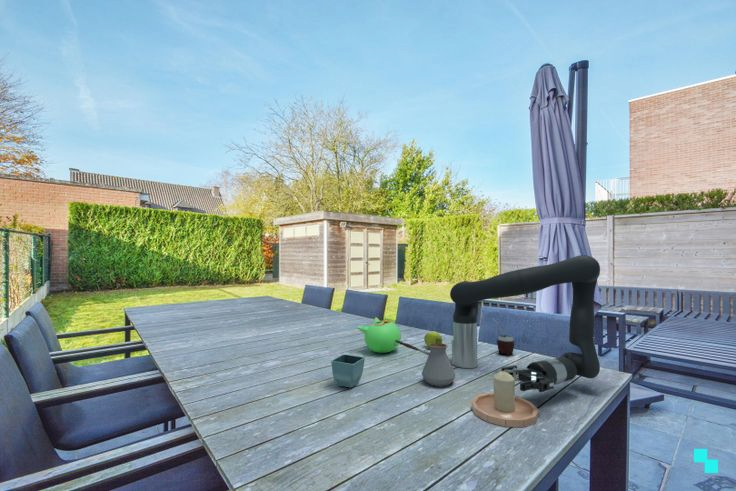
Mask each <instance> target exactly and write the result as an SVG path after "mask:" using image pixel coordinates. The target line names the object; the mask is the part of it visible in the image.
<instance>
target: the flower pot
mask: <svg viewBox="0 0 736 491" xmlns="http://www.w3.org/2000/svg"><path fill="white" fill-rule="evenodd" d="M330 363H331V370H332V377H333V378H334V379H333V380H334V381H335V383H336V385H337V386H338V385H339V386H338V387H341V386H345V387H344V388H346V387H352V388H354V387H355V386H356V385H357V384H358V383H359V381H360V380H361V378H362V375H363V371H364V368H365V366H364V365H365V356H358V355H352V354H345V353H344V354H341V355H339V356H338V357H336V358H334V359H332V360H331V361H330ZM354 385H355V386H354ZM353 386H354V387H353Z"/></svg>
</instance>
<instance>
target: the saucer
mask: <svg viewBox="0 0 736 491" xmlns="http://www.w3.org/2000/svg"><path fill="white" fill-rule="evenodd" d="M470 403H471V410H472V411H473V413H474V415H475V416H476V417H478V418H480V419H481V420H483V421H485V422H487V423H489V422H490V424H493V425H497V426H501V427H504V428H526V427H529V426H532V425H535V424H536V423H537V422H538V418H539V409H538V408H537V407H536V405H535V404H534V403H533V402H531V401H529V400H527V399H524V398H522V397H520V396H519V395H518V396H517V395H515V410H514V411H513V412H502V411H499V410H497V409H495V407H494V392H486V393H481V394H477V395H475V396H474V398H472V399H471V402H470Z"/></svg>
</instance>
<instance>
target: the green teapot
mask: <svg viewBox="0 0 736 491" xmlns="http://www.w3.org/2000/svg"><path fill="white" fill-rule="evenodd" d="M356 329H357V330H359V331H360V332H362V333H364V342H365V345H366V346H367V348H368V349H369V350H371V351H372V352H375V353H379V354H385V353H390V352H391V351H392V352H393V351H394V350H396V348H397V347H399V345H400V343H397V342H396V344H395V343H394V341H395V340H398V341H400V342H401V341H402V340H401V339H402V333H401V330H400V328H399V326H397V324H395V323H394V322H391V321H389V320H387V319H386V320H380V319H379V318H378V317H374V319H373V323H371V324H370V325H369V326H368V325H367V326H366V325H358V326H357V327H356Z"/></svg>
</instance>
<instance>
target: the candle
mask: <svg viewBox="0 0 736 491" xmlns="http://www.w3.org/2000/svg"><path fill="white" fill-rule="evenodd" d="M515 388H516V386H515V381H514V378H513V377H512V375H510V374H509V373H507V372H506V371H501V370H500V371H497V372H496V374H494V375H493V393H494V407H495V409H497V410H499V411H502V412H513V411H514V410H515V396H516V395H515V394H516V393H515V390H516V389H515Z"/></svg>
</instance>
